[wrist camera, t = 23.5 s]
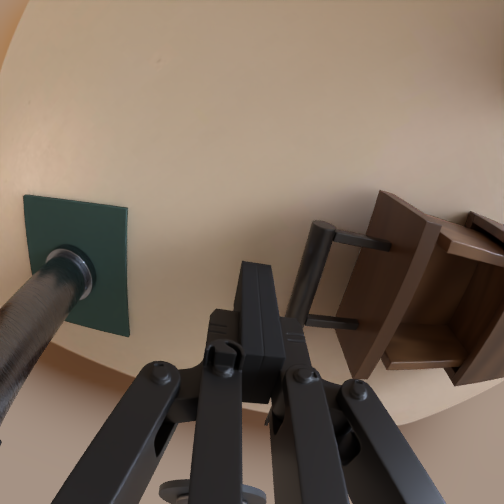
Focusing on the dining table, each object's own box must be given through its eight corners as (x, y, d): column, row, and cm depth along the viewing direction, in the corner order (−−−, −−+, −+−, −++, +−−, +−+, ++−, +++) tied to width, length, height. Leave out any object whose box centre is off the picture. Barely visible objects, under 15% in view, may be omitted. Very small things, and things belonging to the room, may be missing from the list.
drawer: (271, 316, 23) (278, 376, 18) (309, 172, 19) (337, 197, 13) (440, 330, 25) (469, 372, 19) (488, 226, 20) (533, 257, 15)
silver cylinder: (100, 309, 23) (19, 466, 9) (56, 298, 23) (-35, 432, 8) (94, 235, 21) (-40, 393, 6) (46, 227, 20) (-90, 353, 6)
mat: (129, 334, 25) (128, 337, 25) (42, 311, 24) (40, 313, 24) (128, 207, 20) (126, 209, 20) (25, 194, 19) (23, 195, 19)
